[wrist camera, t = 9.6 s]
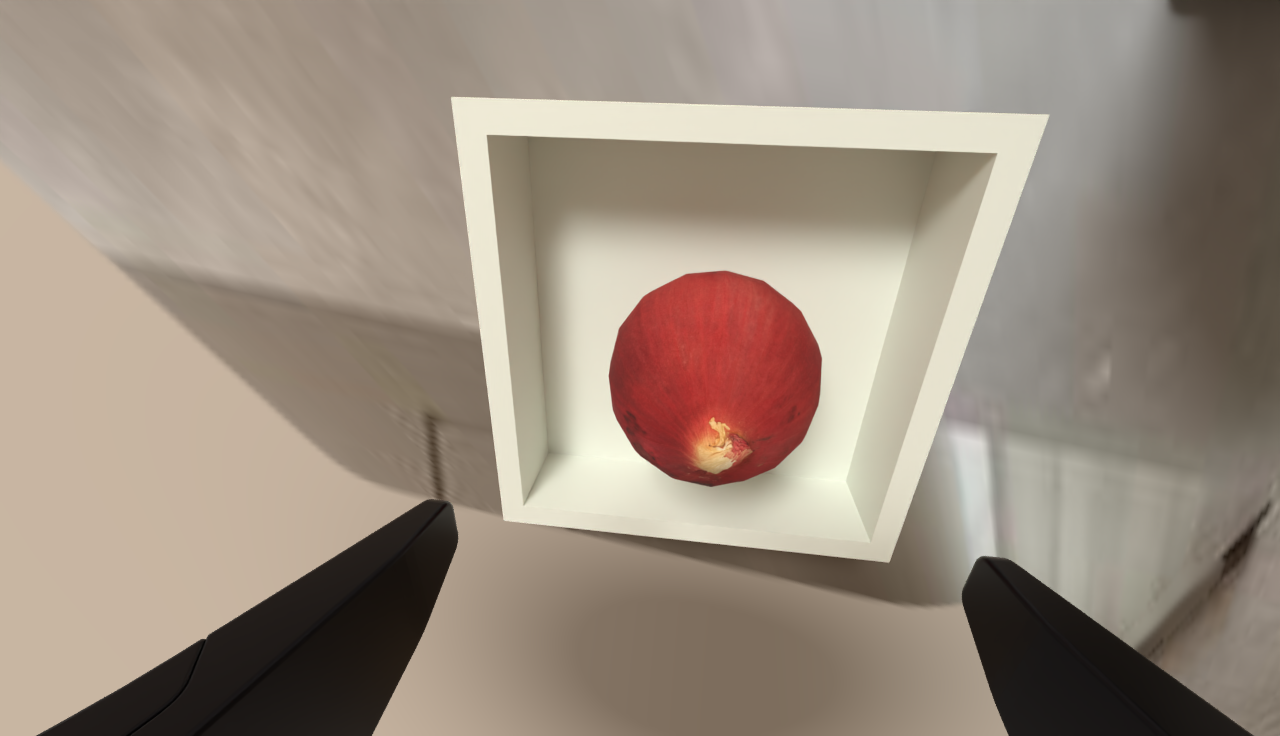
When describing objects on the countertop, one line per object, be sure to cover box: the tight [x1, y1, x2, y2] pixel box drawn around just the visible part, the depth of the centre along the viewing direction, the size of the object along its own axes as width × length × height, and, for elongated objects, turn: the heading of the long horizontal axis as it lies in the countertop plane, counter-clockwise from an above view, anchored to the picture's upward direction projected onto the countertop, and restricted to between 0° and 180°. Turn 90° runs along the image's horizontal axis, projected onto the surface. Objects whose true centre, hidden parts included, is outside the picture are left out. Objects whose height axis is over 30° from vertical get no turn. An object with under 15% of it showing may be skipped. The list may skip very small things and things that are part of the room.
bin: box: [451, 97, 1049, 562], centre depth 16 cm, size 14×14×4 cm
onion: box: [609, 270, 822, 487], centre depth 14 cm, size 6×6×8 cm
